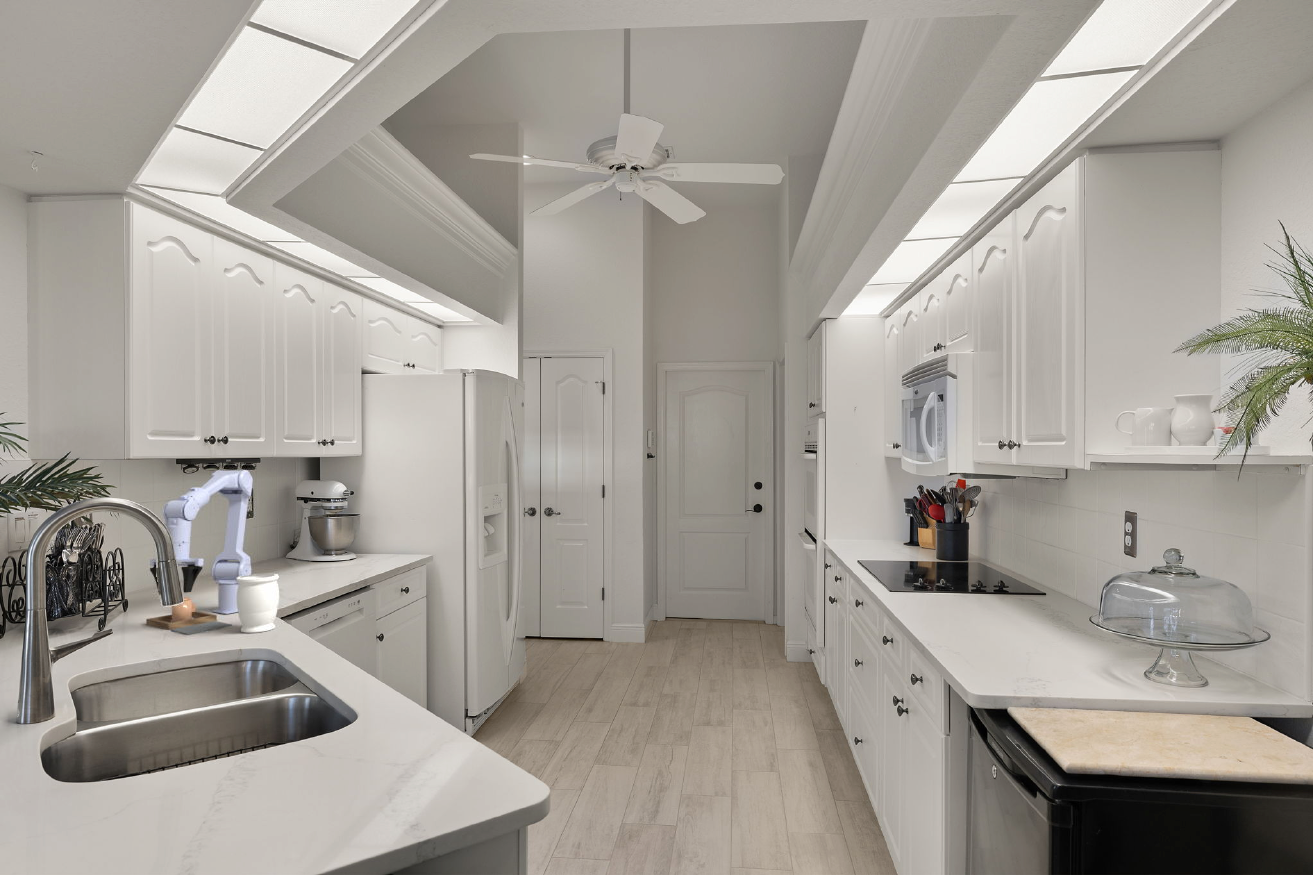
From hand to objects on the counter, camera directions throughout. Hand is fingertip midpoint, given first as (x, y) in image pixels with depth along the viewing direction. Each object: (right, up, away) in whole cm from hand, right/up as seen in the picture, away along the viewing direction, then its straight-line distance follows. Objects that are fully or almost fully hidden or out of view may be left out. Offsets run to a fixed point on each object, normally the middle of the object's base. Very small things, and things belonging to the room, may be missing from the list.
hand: (174, 592), depth 206 cm
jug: (-5, -11, +11) cm, 16 cm away
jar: (+23, -11, +1) cm, 25 cm away
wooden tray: (-5, -11, +11) cm, 16 cm away
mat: (+6, -11, +3) cm, 13 cm away
